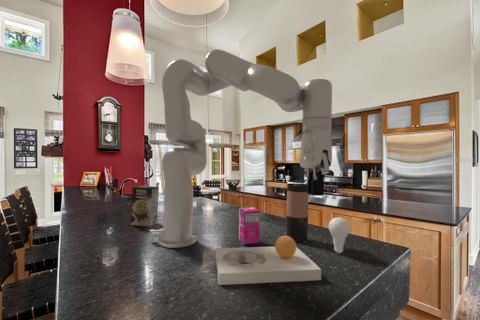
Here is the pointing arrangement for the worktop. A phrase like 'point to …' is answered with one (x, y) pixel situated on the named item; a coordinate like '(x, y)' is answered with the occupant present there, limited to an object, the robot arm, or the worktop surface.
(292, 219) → the travel mug
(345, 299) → the worktop surface
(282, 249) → the ball
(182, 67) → the robot arm
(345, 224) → the lightbulb
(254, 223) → the supplement box
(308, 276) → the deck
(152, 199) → the coffee box
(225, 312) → the worktop surface
